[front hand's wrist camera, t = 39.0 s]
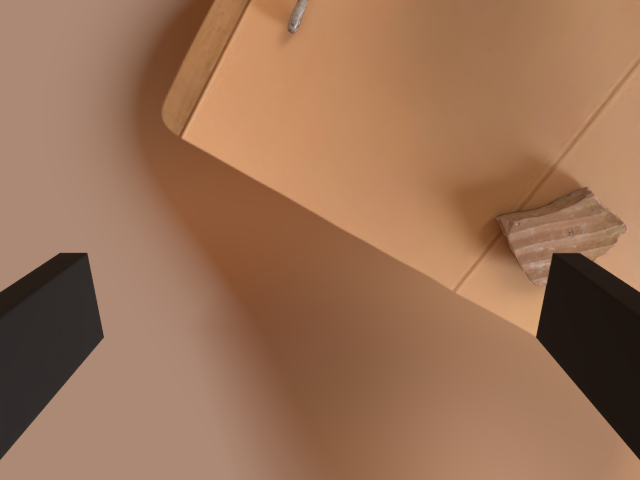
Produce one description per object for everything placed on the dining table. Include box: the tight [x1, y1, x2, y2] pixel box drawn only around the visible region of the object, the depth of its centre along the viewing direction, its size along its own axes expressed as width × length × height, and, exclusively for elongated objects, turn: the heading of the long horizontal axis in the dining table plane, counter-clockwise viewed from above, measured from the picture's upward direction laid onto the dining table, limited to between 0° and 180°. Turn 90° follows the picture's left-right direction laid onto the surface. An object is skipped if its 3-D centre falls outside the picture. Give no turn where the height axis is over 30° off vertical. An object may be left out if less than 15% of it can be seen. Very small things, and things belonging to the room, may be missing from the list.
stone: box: [495, 187, 628, 285], centre depth 53 cm, size 13×12×2 cm
